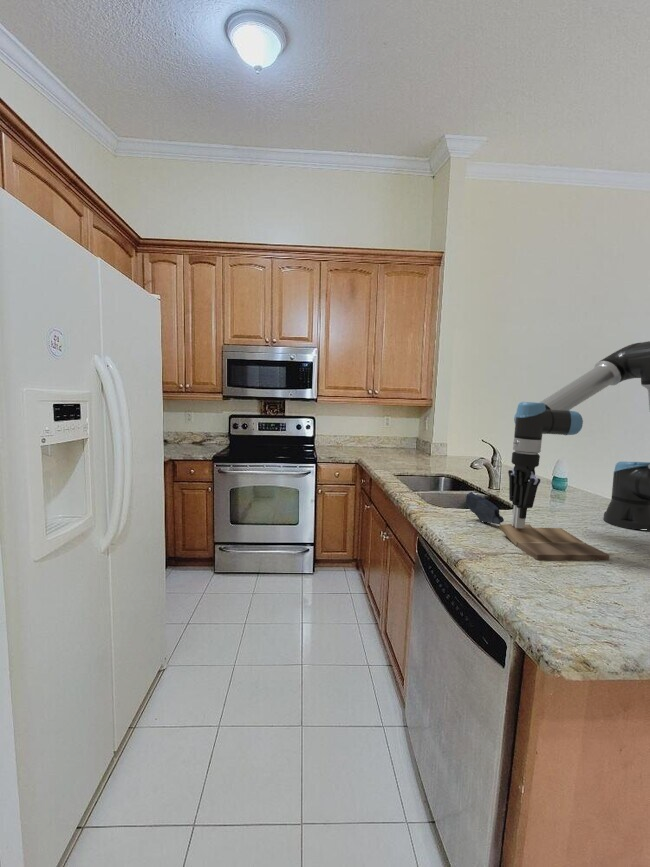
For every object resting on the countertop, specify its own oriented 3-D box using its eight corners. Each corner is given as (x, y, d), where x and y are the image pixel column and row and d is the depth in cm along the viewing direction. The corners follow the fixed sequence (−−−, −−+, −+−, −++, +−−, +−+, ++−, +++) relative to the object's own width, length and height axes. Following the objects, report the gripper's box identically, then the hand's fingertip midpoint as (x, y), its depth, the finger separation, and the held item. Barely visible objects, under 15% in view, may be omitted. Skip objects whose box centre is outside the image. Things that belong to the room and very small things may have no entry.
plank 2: (560, 532, 124) (560, 527, 124) (583, 546, 114) (583, 542, 114) (531, 531, 123) (532, 527, 123) (552, 546, 113) (552, 541, 113)
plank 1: (528, 528, 123) (529, 523, 122) (547, 546, 113) (548, 541, 113) (498, 527, 122) (499, 523, 122) (516, 546, 113) (517, 541, 112)
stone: (506, 526, 131) (508, 497, 130) (501, 530, 127) (503, 500, 126) (466, 516, 140) (467, 490, 139) (459, 520, 135) (461, 492, 135)
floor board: (584, 547, 114) (584, 542, 114) (608, 560, 105) (609, 554, 105) (517, 547, 112) (517, 541, 112) (536, 560, 103) (537, 554, 103)
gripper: (502, 448, 124) (494, 519, 126) (528, 455, 110) (519, 534, 112) (524, 449, 124) (516, 519, 127) (553, 456, 111) (543, 535, 113)
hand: (517, 526), depth 120 cm, fingers closed
